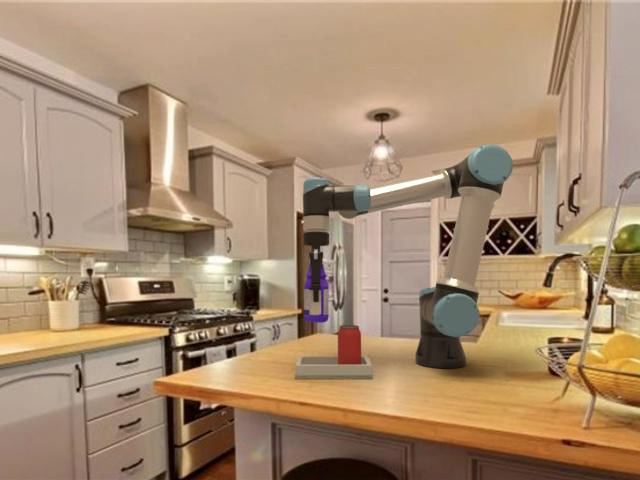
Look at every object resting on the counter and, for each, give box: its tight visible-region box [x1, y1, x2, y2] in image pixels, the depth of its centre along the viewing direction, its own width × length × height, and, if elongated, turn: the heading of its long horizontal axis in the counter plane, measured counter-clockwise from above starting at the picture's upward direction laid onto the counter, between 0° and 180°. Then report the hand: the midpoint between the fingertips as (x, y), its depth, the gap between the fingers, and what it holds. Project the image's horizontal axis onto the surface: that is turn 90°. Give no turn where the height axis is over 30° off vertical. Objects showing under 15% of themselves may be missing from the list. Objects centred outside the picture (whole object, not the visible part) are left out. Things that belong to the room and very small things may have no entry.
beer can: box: [337, 324, 362, 365], centre depth 115 cm, size 7×7×12 cm
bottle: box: [303, 259, 330, 324], centre depth 116 cm, size 7×6×17 cm
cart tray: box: [294, 355, 373, 380], centre depth 115 cm, size 20×12×4 cm, turn 89°
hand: (316, 312), depth 116 cm, fingers closed on bottle, 7 cm apart
